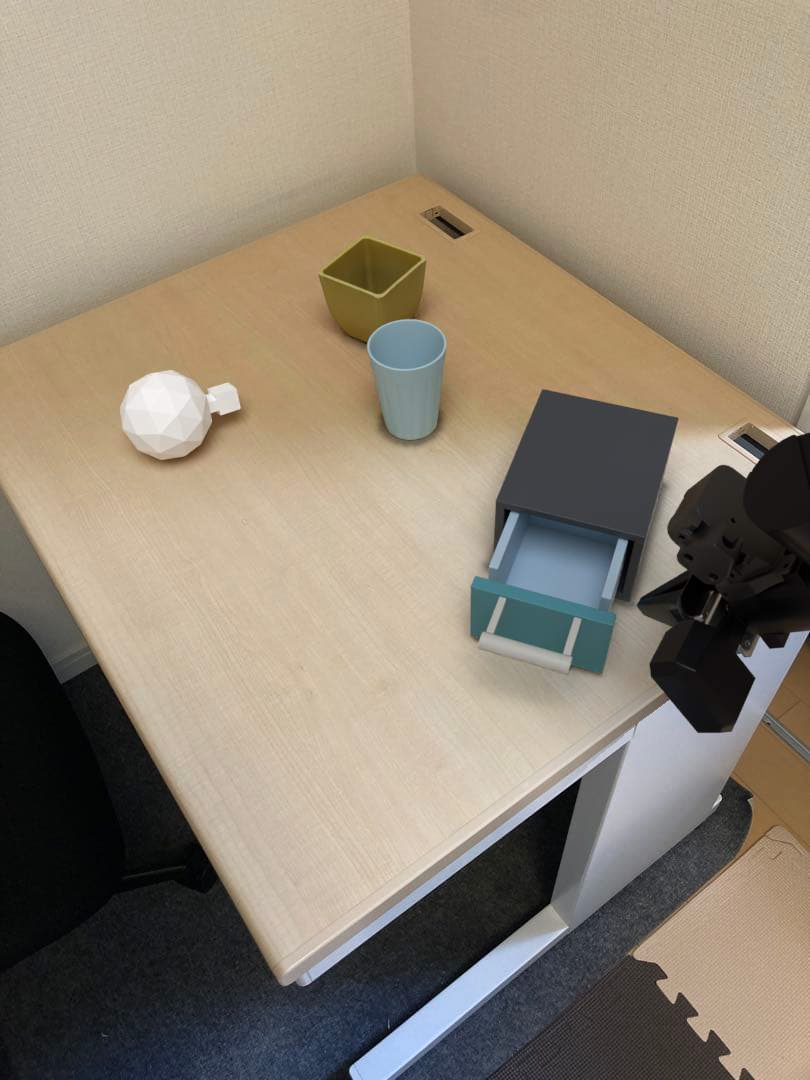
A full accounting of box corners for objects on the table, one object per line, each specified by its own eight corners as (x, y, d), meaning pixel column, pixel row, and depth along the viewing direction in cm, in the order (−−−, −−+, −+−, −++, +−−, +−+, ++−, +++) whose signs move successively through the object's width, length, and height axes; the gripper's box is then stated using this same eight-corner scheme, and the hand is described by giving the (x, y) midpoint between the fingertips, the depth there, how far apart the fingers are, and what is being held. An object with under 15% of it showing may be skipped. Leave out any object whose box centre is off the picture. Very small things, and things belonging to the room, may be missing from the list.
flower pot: (370, 299, 109) (364, 232, 102) (430, 323, 106) (428, 255, 99) (325, 339, 105) (315, 272, 98) (386, 365, 102) (380, 298, 95)
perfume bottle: (148, 485, 89) (259, 445, 94) (122, 399, 84) (241, 362, 89) (122, 455, 96) (227, 420, 101) (97, 374, 91) (208, 341, 96)
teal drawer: (587, 725, 72) (598, 677, 66) (451, 683, 75) (450, 634, 69) (636, 551, 82) (649, 497, 77) (514, 521, 85) (518, 466, 80)
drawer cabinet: (629, 601, 80) (645, 537, 73) (492, 565, 83) (495, 500, 76) (661, 484, 88) (678, 417, 81) (536, 455, 92) (542, 388, 85)
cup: (460, 408, 96) (459, 329, 88) (429, 456, 92) (425, 378, 84) (396, 389, 99) (390, 311, 91) (363, 435, 95) (353, 357, 87)
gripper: (828, 372, 54) (630, 440, 67) (718, 593, 45) (511, 624, 58) (916, 507, 58) (711, 547, 70) (831, 740, 48) (612, 738, 61)
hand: (641, 606), depth 65 cm, fingers closed
